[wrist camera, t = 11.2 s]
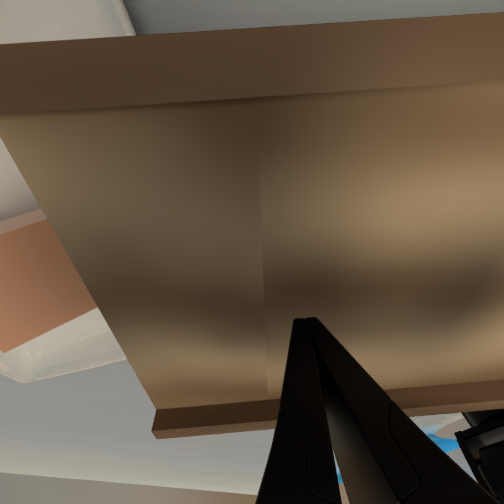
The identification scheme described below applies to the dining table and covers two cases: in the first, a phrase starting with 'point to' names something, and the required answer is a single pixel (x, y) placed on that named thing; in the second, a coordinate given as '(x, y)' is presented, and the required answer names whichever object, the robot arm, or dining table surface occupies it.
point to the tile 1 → (36, 281)
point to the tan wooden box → (278, 203)
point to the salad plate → (23, 201)
